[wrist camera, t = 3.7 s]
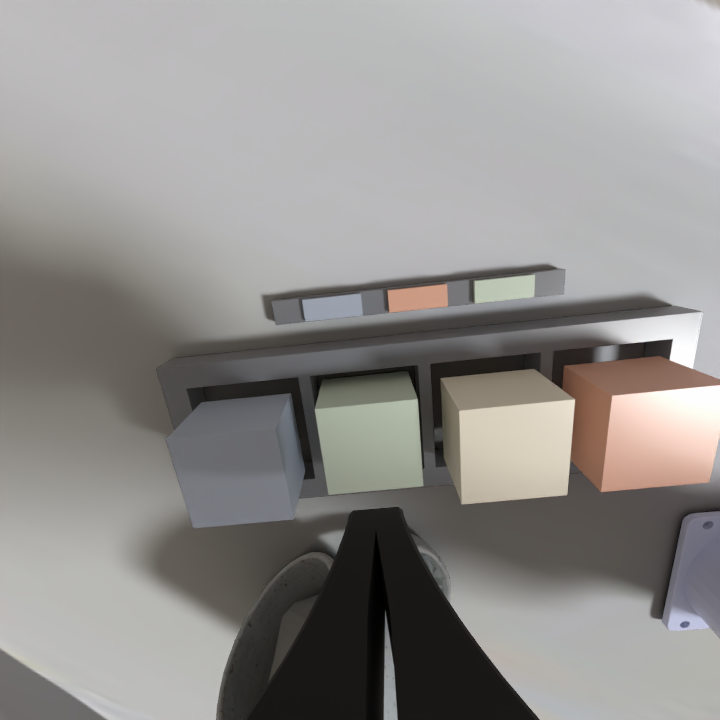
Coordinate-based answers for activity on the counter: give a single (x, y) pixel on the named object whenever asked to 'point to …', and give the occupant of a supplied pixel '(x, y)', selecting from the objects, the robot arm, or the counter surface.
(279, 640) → the ceramic mug
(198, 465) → the slate key
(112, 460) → the counter surface
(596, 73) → the counter surface
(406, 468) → the sage key
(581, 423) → the terracotta key
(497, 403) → the sand key
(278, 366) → the keypad base
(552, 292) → the strip
